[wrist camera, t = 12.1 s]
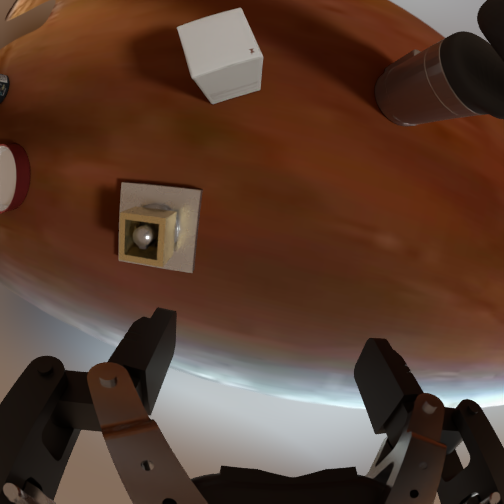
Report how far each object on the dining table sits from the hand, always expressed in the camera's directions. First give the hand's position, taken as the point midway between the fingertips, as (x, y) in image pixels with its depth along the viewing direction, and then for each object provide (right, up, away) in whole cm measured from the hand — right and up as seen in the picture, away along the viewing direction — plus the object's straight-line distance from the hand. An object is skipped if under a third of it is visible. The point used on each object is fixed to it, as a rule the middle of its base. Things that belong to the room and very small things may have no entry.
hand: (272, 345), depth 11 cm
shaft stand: (-15, +8, +29) cm, 33 cm away
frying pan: (-56, +21, +25) cm, 65 cm away
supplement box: (-4, +28, +23) cm, 37 cm away
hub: (-14, +7, +26) cm, 31 cm away
